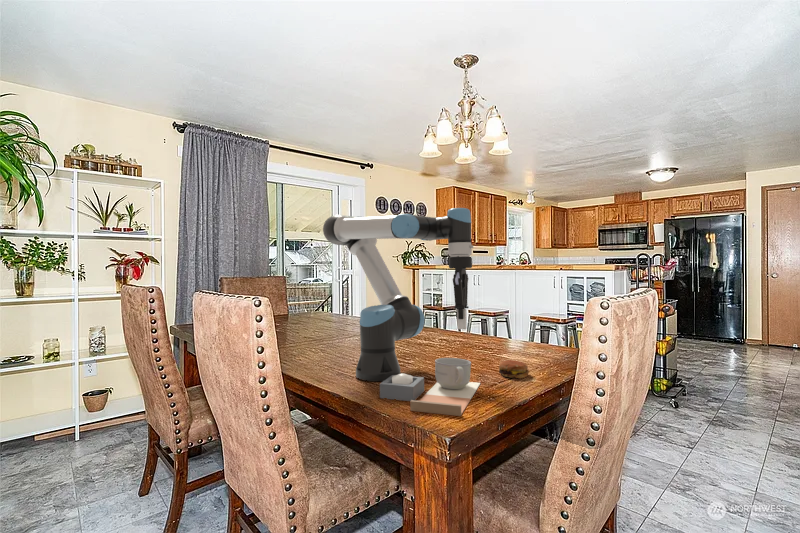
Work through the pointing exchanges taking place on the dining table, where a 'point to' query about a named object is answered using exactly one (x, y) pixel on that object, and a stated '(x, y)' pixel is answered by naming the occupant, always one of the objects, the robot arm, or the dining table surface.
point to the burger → (513, 369)
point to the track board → (445, 400)
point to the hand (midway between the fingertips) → (462, 328)
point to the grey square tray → (402, 389)
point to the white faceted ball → (402, 379)
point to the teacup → (452, 372)
